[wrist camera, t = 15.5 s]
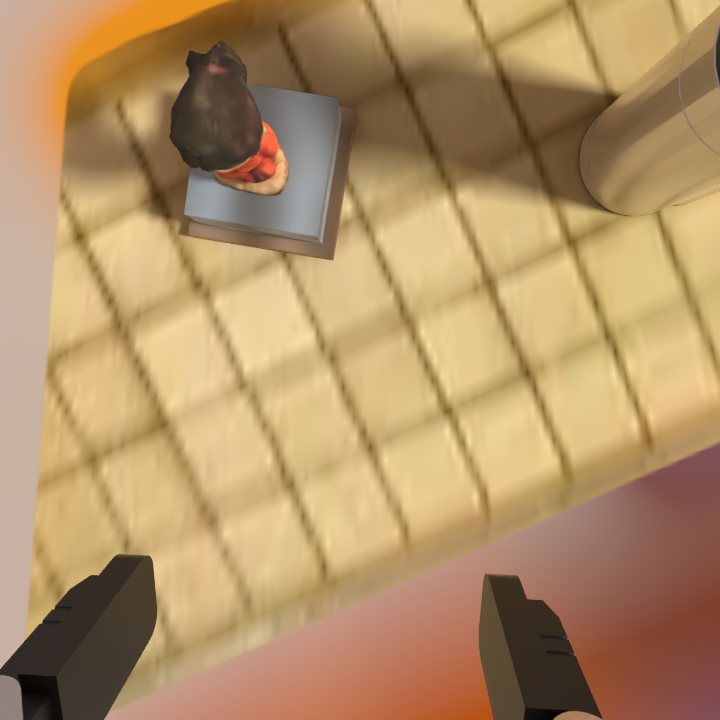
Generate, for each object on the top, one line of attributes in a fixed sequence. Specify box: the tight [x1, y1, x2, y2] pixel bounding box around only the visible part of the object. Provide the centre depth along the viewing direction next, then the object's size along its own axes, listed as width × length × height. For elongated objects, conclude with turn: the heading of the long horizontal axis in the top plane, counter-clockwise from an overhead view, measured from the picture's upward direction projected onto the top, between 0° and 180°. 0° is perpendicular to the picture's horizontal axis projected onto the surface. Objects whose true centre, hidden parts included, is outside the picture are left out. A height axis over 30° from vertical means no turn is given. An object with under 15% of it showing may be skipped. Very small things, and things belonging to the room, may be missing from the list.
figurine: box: [170, 41, 289, 196], centre depth 33 cm, size 6×6×12 cm
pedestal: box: [184, 83, 357, 260], centre depth 41 cm, size 12×12×5 cm
